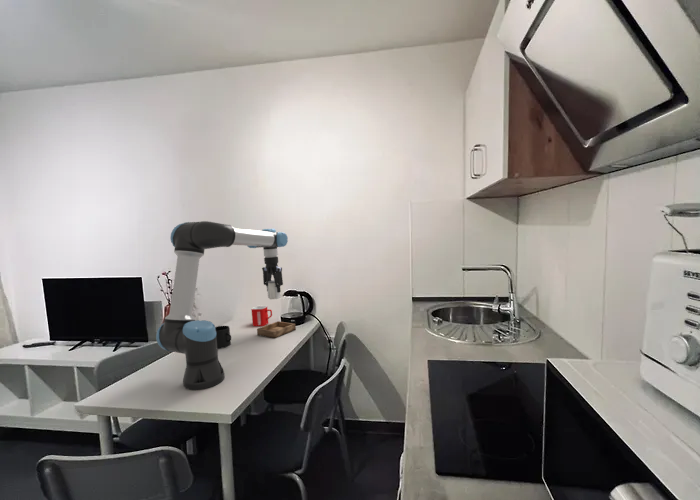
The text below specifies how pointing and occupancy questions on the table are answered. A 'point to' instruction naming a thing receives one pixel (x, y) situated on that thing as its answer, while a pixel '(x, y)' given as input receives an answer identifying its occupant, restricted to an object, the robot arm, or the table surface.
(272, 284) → the shaker
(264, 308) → the mug
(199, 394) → the table surface
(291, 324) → the tray
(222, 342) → the mug
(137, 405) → the table surface
